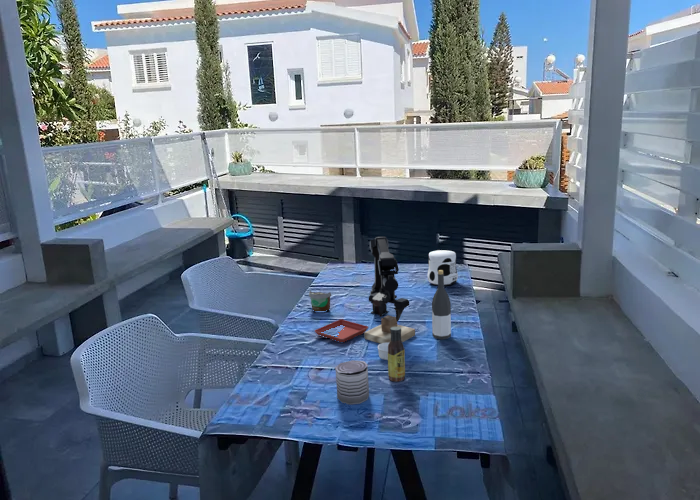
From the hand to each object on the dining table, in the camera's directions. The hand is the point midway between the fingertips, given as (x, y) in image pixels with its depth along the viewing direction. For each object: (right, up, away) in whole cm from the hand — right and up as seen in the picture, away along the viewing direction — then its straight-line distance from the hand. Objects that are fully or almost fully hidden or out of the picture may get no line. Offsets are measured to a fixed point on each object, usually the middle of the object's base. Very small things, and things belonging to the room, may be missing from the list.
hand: (389, 319), depth 242 cm
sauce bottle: (0, -18, -37) cm, 41 cm away
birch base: (0, -8, +2) cm, 9 cm away
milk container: (+36, +11, +76) cm, 85 cm away
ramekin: (-1, -13, -17) cm, 22 cm away
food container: (-33, -1, +40) cm, 52 cm away
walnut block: (0, -5, +1) cm, 6 cm away
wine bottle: (+23, -8, 0) cm, 24 cm away
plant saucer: (-21, -9, +8) cm, 24 cm away
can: (-16, -21, -49) cm, 56 cm away
